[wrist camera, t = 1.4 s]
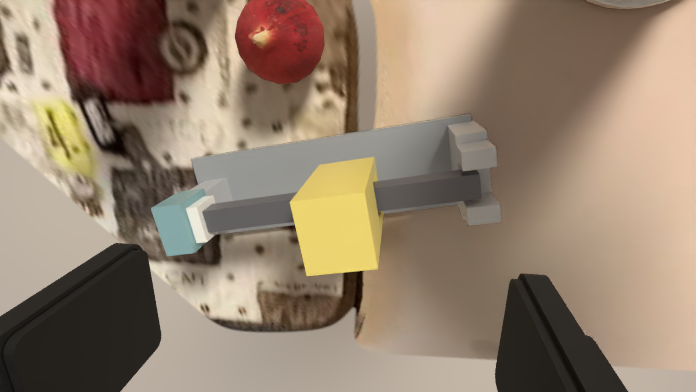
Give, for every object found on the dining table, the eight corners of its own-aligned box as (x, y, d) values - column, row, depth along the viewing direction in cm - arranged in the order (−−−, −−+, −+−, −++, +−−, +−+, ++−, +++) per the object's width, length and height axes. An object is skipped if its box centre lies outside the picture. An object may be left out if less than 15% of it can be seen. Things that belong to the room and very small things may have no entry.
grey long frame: (472, 113, 31) (497, 130, 23) (479, 199, 33) (505, 242, 25) (194, 157, 35) (134, 185, 27) (216, 232, 37) (166, 278, 29)
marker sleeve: (374, 156, 28) (364, 192, 20) (383, 214, 29) (377, 269, 22) (319, 164, 29) (289, 202, 21) (330, 221, 30) (306, 276, 22)
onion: (284, -19, 29) (244, -46, 22) (347, 32, 30) (329, 22, 22) (243, 50, 31) (194, 46, 24) (303, 96, 32) (273, 107, 24)
